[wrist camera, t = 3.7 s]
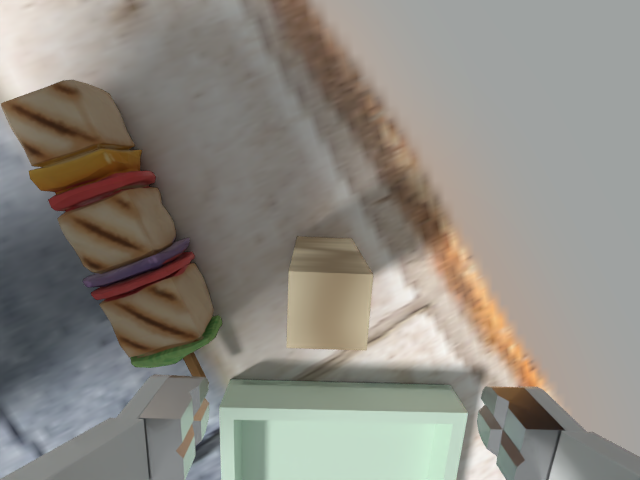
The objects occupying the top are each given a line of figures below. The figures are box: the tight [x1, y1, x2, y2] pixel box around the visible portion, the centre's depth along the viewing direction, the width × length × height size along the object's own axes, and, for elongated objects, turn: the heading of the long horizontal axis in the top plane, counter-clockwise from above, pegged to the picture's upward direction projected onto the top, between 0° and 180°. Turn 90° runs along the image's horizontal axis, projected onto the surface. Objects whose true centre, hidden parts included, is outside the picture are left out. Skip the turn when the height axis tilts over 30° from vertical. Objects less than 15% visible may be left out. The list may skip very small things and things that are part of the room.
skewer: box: [1, 80, 222, 384], centre depth 20 cm, size 21×6×5 cm, turn 19°
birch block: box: [287, 236, 373, 350], centre depth 18 cm, size 4×4×8 cm
